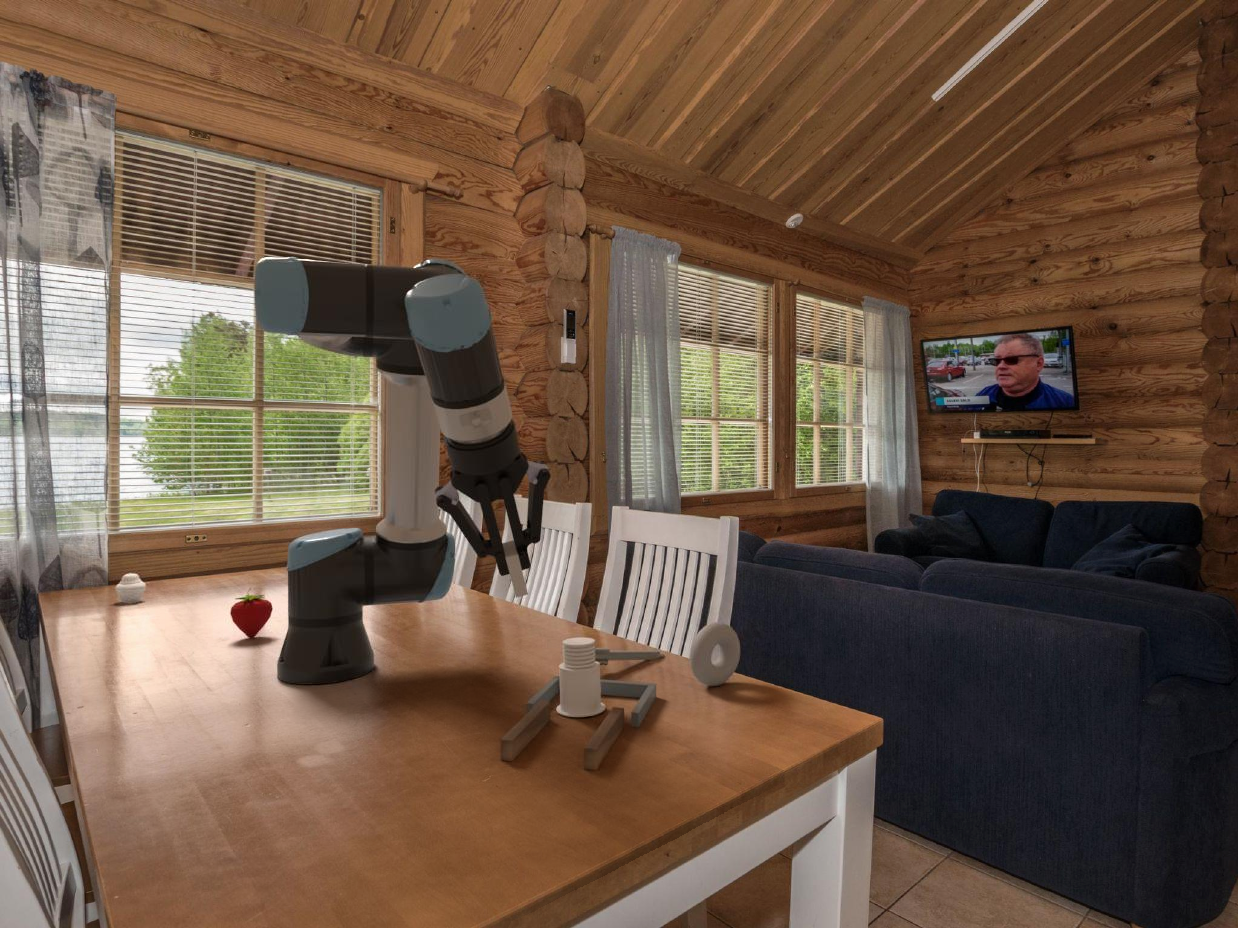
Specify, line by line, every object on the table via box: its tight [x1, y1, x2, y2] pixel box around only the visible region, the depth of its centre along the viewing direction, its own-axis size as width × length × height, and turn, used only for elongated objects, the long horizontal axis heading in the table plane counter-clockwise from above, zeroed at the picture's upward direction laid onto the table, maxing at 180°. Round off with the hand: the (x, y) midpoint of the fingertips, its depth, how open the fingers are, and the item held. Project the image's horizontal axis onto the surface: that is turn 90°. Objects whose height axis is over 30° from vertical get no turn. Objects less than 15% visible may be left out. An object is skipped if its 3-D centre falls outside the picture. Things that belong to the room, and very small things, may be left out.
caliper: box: [595, 647, 666, 666], centre depth 129 cm, size 20×1×6 cm, turn 132°
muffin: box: [114, 572, 147, 604], centre depth 180 cm, size 6×6×7 cm
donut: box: [689, 621, 741, 687], centre depth 119 cm, size 10×3×10 cm, turn 129°
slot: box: [500, 701, 625, 771], centre depth 97 cm, size 12×14×2 cm
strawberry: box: [230, 587, 273, 639], centre depth 148 cm, size 6×8×10 cm
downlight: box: [556, 637, 606, 718], centre depth 109 cm, size 8×7×10 cm
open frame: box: [525, 675, 657, 729], centre depth 110 cm, size 16×12×2 cm
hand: (520, 588), depth 93 cm, fingers closed
